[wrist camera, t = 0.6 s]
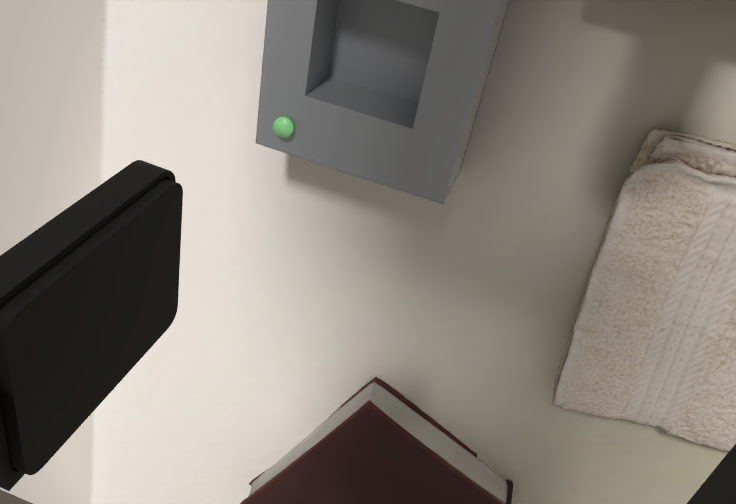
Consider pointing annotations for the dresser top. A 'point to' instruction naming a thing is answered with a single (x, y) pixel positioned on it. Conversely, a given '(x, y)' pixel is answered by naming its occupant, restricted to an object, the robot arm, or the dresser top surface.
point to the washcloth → (663, 298)
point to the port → (378, 85)
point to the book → (379, 460)
